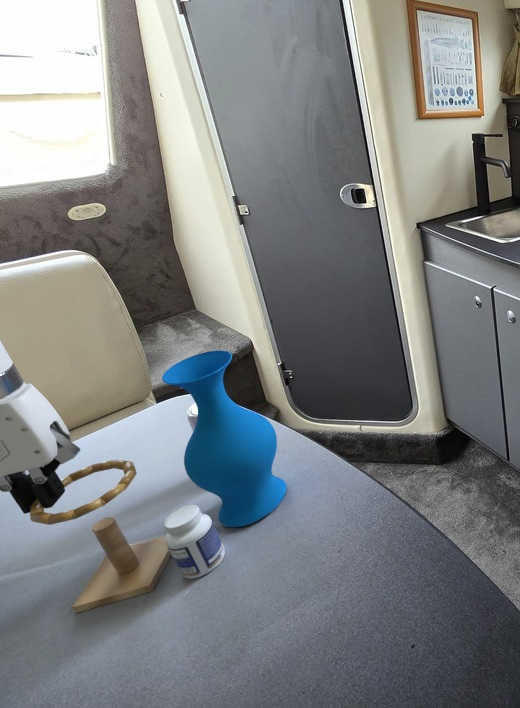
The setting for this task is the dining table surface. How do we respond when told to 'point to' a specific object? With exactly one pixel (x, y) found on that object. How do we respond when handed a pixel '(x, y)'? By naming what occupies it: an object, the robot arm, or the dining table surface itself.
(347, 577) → the dining table surface
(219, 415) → the vase
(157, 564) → the wooden base with post
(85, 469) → the ring
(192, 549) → the pill bottle
